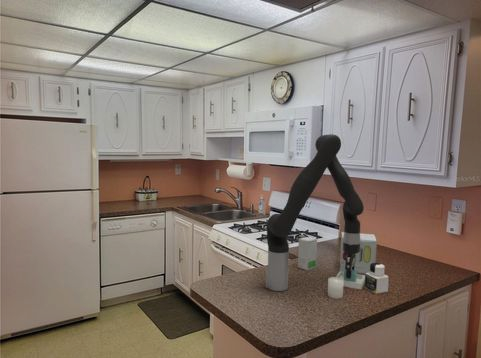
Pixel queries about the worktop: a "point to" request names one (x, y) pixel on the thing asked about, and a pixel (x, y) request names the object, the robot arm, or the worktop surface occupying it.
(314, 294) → the worktop surface
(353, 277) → the block
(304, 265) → the skincare box
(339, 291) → the white rounded dome
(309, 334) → the worktop surface
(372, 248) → the supplement box
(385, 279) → the medicine bottle
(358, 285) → the tray
